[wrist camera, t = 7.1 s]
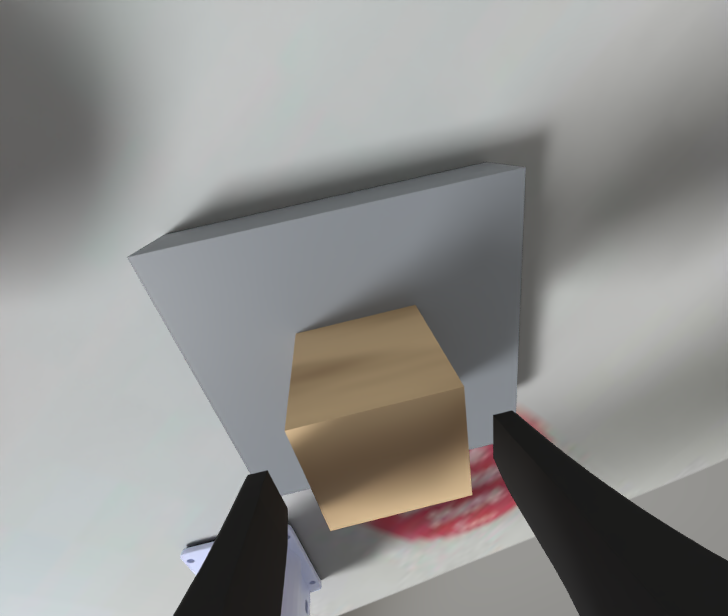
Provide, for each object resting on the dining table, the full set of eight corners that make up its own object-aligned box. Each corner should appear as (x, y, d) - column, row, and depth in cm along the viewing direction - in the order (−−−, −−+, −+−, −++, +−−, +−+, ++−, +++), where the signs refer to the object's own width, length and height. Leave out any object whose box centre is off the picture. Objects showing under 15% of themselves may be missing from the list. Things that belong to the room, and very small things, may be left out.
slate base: (489, 400, 21) (514, 438, 18) (271, 452, 20) (265, 499, 18) (486, 161, 14) (525, 167, 11) (164, 234, 14) (127, 257, 11)
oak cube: (428, 395, 16) (472, 494, 11) (326, 419, 16) (330, 531, 11) (415, 304, 13) (464, 386, 9) (295, 333, 13) (284, 431, 9)
